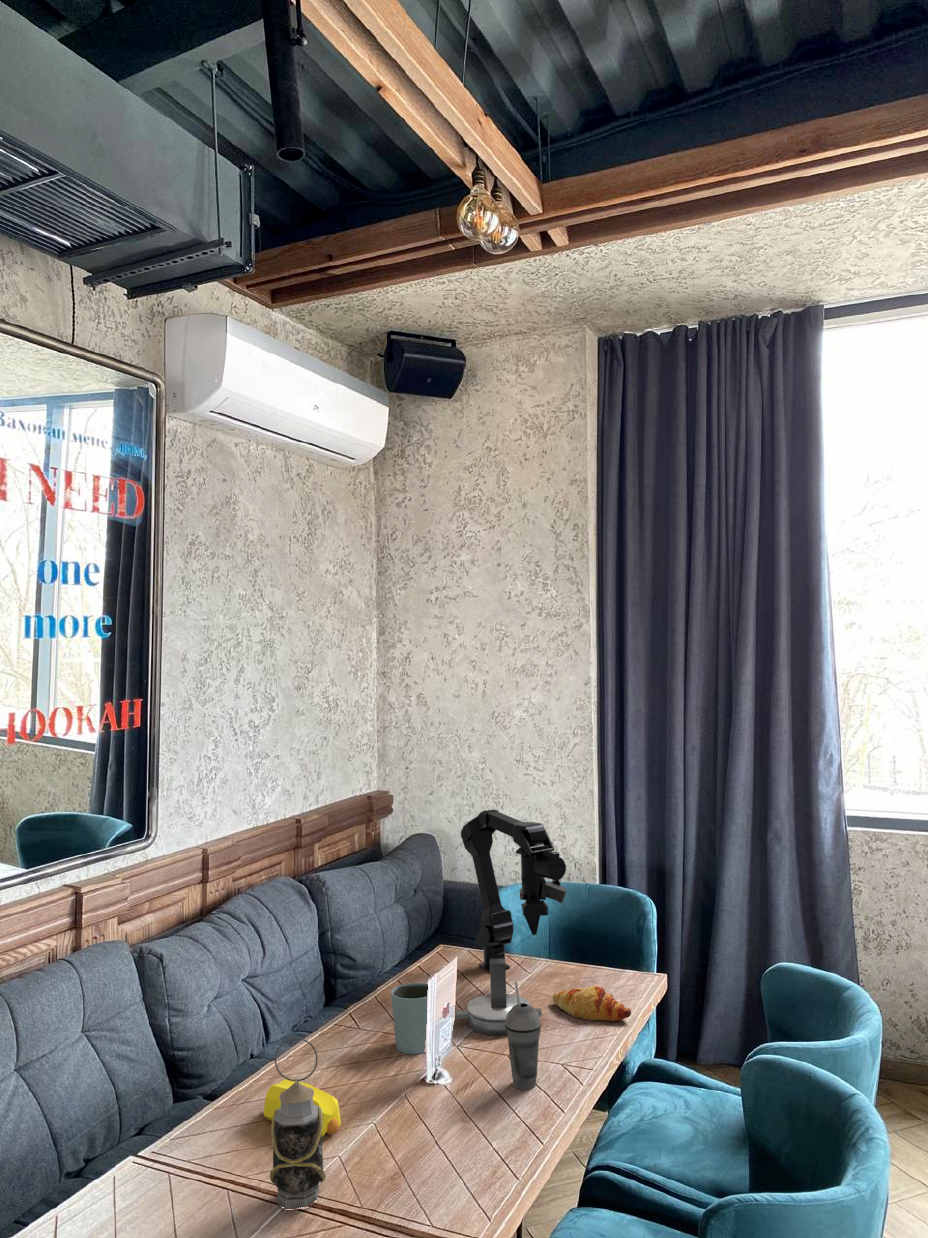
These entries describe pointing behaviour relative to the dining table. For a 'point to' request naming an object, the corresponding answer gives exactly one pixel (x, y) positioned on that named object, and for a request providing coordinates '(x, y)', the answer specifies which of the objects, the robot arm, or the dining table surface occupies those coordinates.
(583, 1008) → the croissant
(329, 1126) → the yellow rounded lump
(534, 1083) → the beverage cup
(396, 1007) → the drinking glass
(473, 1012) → the disc with square post
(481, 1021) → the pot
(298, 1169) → the lantern
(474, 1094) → the dining table surface
